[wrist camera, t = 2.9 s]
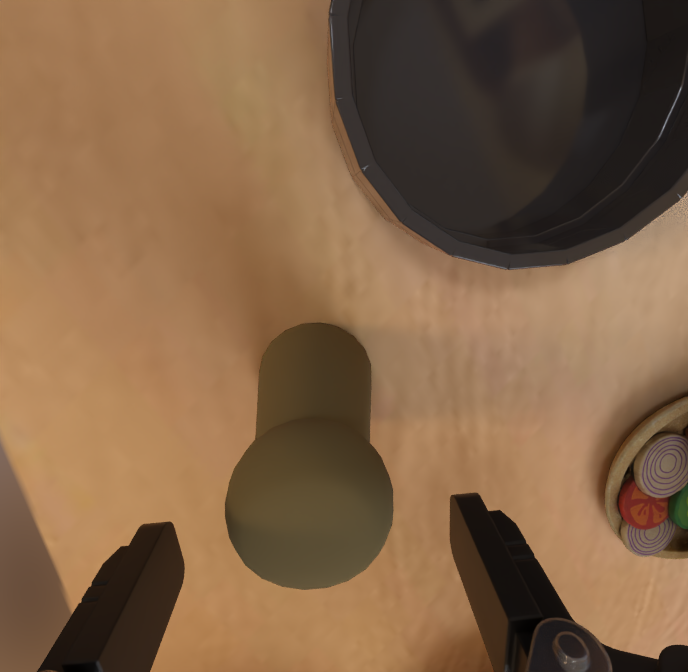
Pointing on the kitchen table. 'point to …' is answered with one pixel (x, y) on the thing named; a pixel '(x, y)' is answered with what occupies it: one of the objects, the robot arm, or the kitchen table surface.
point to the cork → (311, 465)
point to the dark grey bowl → (513, 120)
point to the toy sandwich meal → (652, 485)
